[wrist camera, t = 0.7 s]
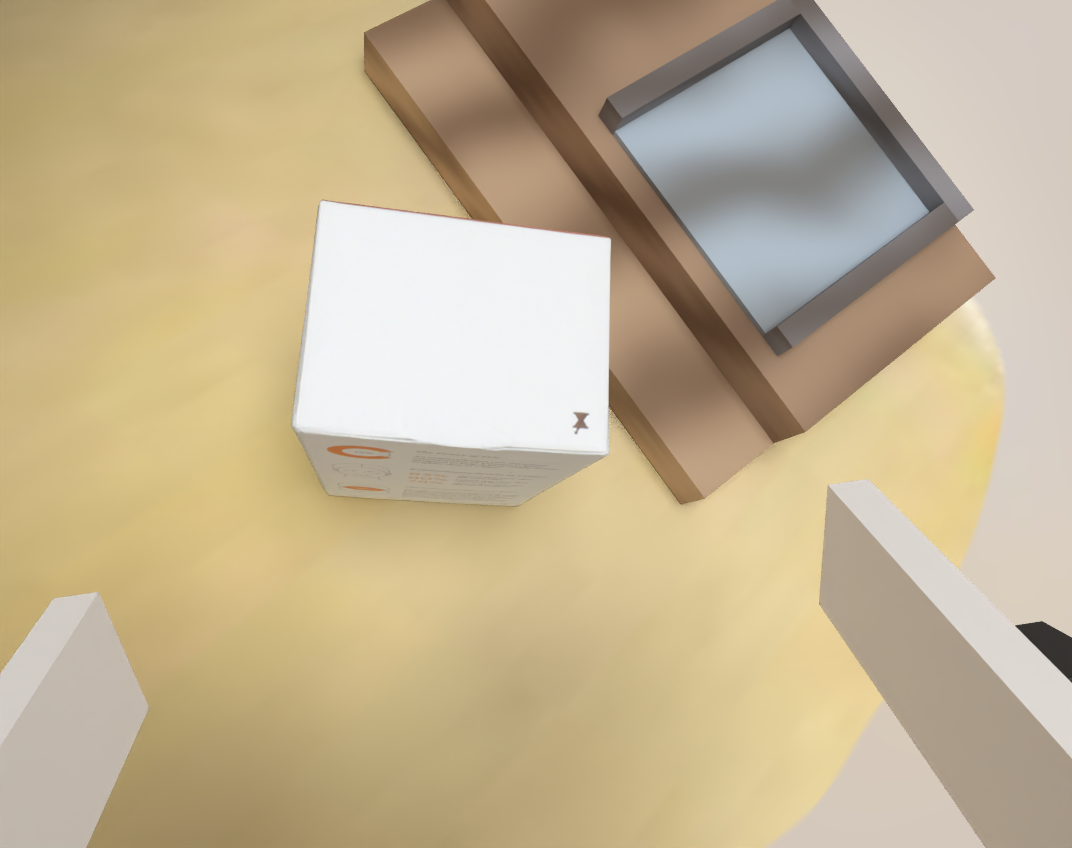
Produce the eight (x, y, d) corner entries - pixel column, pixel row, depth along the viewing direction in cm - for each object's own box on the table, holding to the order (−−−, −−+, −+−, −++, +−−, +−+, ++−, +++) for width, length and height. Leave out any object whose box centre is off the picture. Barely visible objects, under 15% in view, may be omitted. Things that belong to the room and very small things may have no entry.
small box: (527, 362, 34) (619, 233, 21) (521, 508, 32) (615, 461, 20) (336, 344, 32) (314, 192, 20) (321, 496, 31) (288, 437, 18)
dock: (364, 70, 35) (363, -35, 29) (631, -64, 39) (677, -179, 34) (681, 504, 34) (747, 487, 28) (917, 316, 38) (1017, 267, 32)
